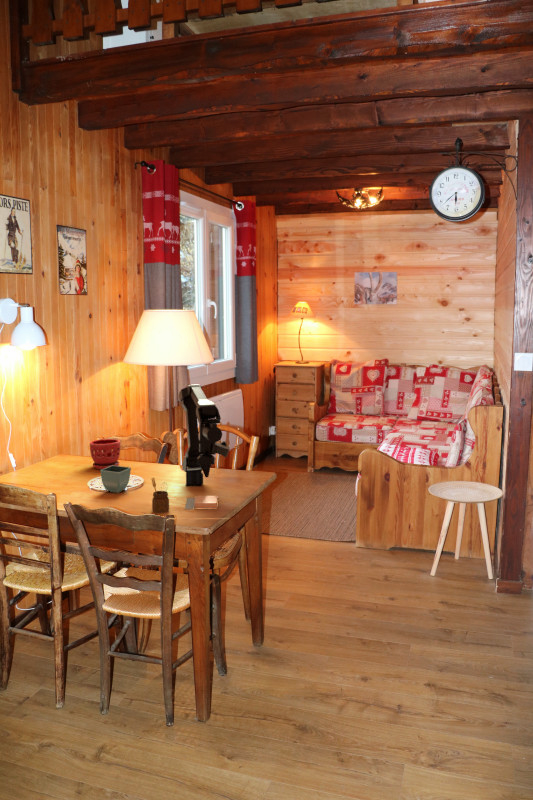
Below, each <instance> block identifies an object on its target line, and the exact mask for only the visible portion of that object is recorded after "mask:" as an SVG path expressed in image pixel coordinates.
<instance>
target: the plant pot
mask: <svg viewBox="0 0 533 800" xmlns="http://www.w3.org/2000/svg"><path fill="white" fill-rule="evenodd" d="M89 452H90V455H91V459H92V461H93V463H92V466H93V467H94V469H96V470H102V469H105V468H107V467H109V466H112V465H113V466H120V461H119V459H120V454H121V440H120V439H113V438H104V439H103V438H102V439H95V440H92V441H89Z"/></svg>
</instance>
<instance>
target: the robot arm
mask: <svg viewBox="0 0 533 800" xmlns="http://www.w3.org/2000/svg"><path fill="white" fill-rule="evenodd" d="M178 400H179V401H180V406H181V407H182V409H183V410H184V412H185V421H186V434H187V435H186V436H187V448H186V451H185V453H184V458H183V460H182V464H181V465H182V466H181V468H182V471H184V473H185V487H202V486H203V484H204V478H209V476H210V470H211V465H212V466H213V465H215V462H216V460H215V459H216V457H215V456H216V454H217V455H219V456H222V457H224V458H227V457H228V455H229V452H230V446H229V445H228V444H227V442H226V441H224V440H222V442H220V441H221V439H222V437H223V431H222V430H221V428H219V427H218V424H221V419H222V418H221V415H220V414H221V413H220V411H219V409H218V407H217V406H216V403H214V402H213V401H211V400H209V399H208V398H207V396H206V394H205V392H204V391H203V389H202V385H201V384H197V383H196V384H195V383H194V384H189V385H188V384H187V386H186V387H183V388H182V389H180V391H179V392H178ZM214 455H215V456H214Z"/></svg>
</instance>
